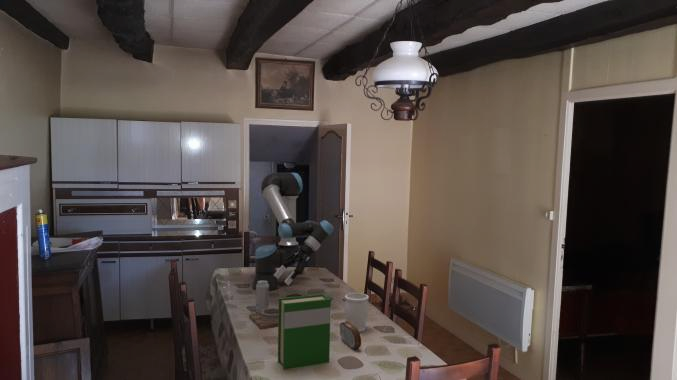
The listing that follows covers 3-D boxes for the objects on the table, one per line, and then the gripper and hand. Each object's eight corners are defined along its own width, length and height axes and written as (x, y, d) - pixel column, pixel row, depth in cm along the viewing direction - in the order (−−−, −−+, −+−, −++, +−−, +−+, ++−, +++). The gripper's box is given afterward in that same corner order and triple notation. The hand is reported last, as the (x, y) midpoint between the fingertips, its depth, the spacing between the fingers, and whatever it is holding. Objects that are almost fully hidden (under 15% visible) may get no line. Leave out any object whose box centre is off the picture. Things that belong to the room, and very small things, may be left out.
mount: (249, 317, 232) (249, 308, 232) (281, 313, 240) (281, 304, 239) (260, 329, 218) (260, 319, 218) (294, 324, 226) (294, 314, 225)
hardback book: (283, 369, 179) (284, 304, 177) (277, 361, 186) (278, 298, 184) (329, 362, 186) (330, 299, 184) (321, 354, 193) (323, 293, 191)
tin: (361, 351, 198) (362, 330, 197) (354, 352, 196) (355, 331, 196) (345, 337, 211) (345, 318, 210) (338, 338, 210) (338, 319, 209)
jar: (355, 323, 229) (356, 291, 227) (372, 329, 221) (373, 296, 220) (339, 329, 221) (339, 295, 220) (356, 335, 214) (357, 301, 212)
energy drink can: (257, 310, 244) (257, 279, 242) (269, 310, 243) (269, 280, 242) (254, 314, 238) (255, 283, 236) (267, 314, 237) (267, 283, 236)
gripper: (325, 256, 239) (296, 291, 233) (303, 247, 261) (276, 278, 255) (315, 246, 236) (285, 281, 230) (294, 238, 258) (266, 269, 252)
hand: (280, 280), depth 243 cm, fingers open, 13 cm apart
